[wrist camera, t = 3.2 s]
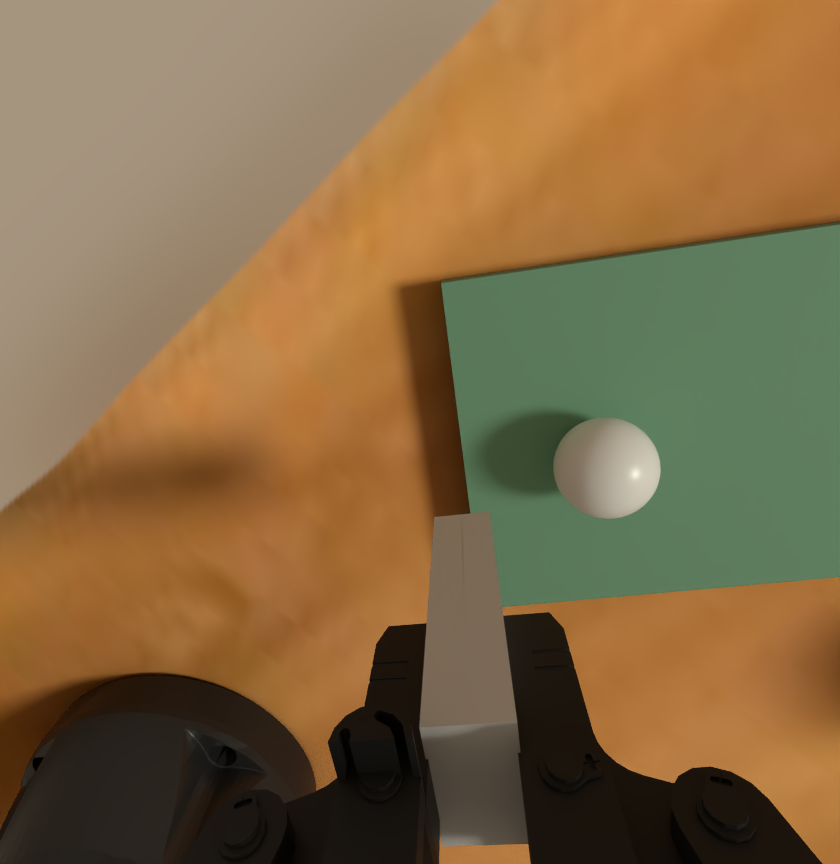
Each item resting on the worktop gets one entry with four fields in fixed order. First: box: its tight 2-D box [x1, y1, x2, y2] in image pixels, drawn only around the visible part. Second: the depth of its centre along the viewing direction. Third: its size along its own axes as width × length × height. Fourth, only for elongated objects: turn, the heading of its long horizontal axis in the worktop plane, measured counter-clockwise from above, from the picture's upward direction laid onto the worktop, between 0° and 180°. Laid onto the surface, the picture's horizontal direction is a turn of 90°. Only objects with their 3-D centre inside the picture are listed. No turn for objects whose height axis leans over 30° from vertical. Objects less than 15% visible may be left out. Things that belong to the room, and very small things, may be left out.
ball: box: [553, 417, 661, 519], centre depth 19 cm, size 4×4×4 cm
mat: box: [441, 222, 840, 607], centre depth 20 cm, size 24×14×2 cm, turn 98°
